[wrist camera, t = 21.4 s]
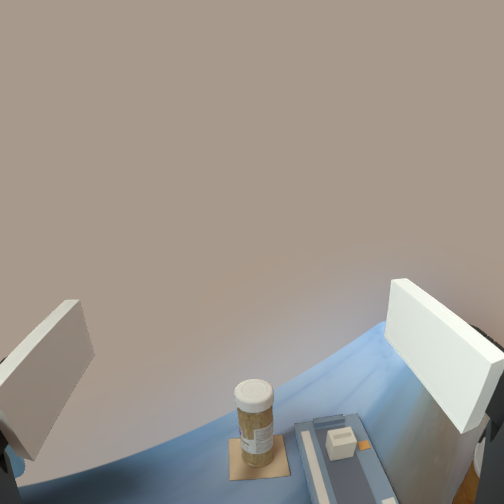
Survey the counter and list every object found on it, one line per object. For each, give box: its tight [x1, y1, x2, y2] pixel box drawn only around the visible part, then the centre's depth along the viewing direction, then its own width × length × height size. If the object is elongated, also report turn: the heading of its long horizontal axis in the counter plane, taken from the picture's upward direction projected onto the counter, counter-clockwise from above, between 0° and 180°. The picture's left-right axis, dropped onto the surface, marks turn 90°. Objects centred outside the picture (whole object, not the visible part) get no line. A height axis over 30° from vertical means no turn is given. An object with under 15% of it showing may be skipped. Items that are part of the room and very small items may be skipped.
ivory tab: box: [325, 426, 357, 461], centre depth 35 cm, size 3×3×4 cm
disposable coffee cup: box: [452, 437, 485, 504], centre depth 20 cm, size 10×10×12 cm
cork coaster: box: [229, 435, 290, 481], centre depth 38 cm, size 8×8×1 cm
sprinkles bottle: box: [234, 379, 274, 467], centre depth 36 cm, size 5×5×14 cm
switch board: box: [294, 413, 399, 504], centre depth 32 cm, size 10×22×2 cm, turn 4°
